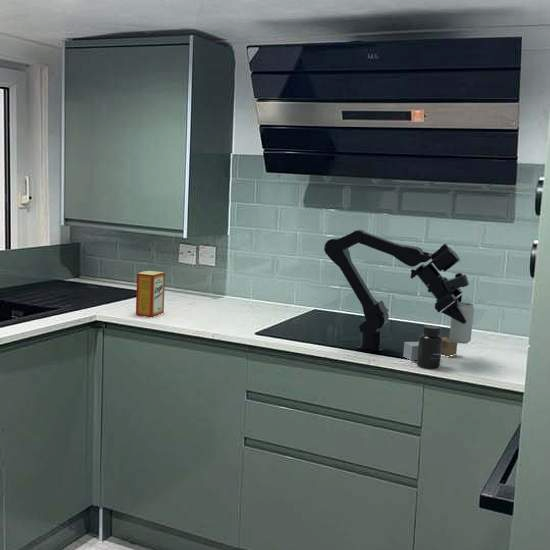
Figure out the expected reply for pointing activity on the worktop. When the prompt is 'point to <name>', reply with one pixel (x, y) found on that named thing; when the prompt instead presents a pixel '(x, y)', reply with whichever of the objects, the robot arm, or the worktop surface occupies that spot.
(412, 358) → the grey plastic block
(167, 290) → the worktop surface
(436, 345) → the supplement bottle
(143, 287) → the baking soda box
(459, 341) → the beverage can
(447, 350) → the walnut block
